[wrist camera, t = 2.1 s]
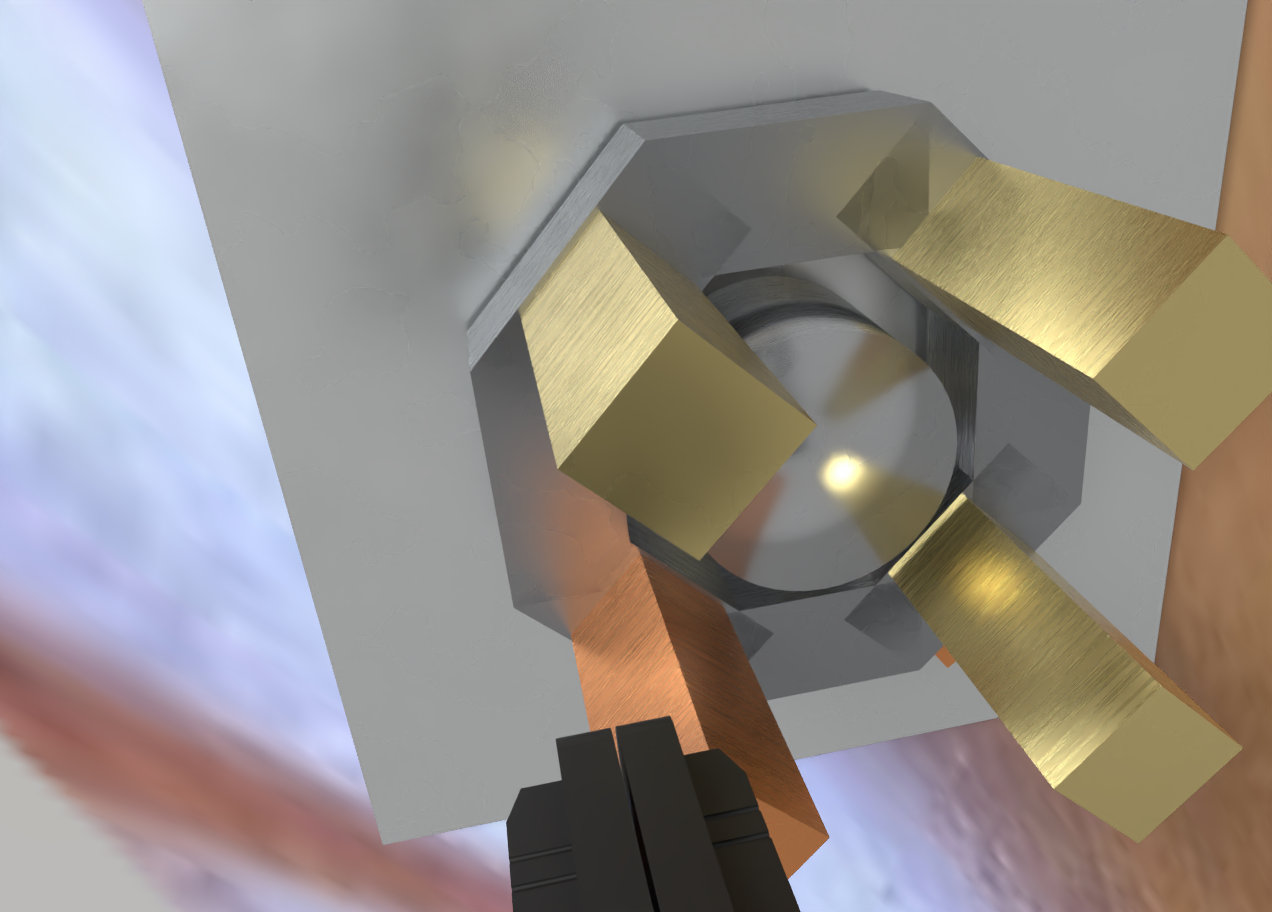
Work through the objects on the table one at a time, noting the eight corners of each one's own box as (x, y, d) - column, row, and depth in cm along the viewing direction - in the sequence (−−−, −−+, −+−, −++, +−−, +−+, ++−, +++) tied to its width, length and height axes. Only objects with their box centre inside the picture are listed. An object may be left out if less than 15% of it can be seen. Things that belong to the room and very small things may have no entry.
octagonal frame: (433, 148, 20) (427, 264, 12) (1050, 66, 21) (1442, 117, 13) (530, 678, 25) (574, 1017, 17) (1015, 585, 27) (1275, 856, 18)
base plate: (131, -88, 19) (32, -114, 14) (1241, -203, 21) (1458, -255, 16) (384, 817, 28) (374, 975, 24) (1129, 665, 30) (1248, 782, 26)
